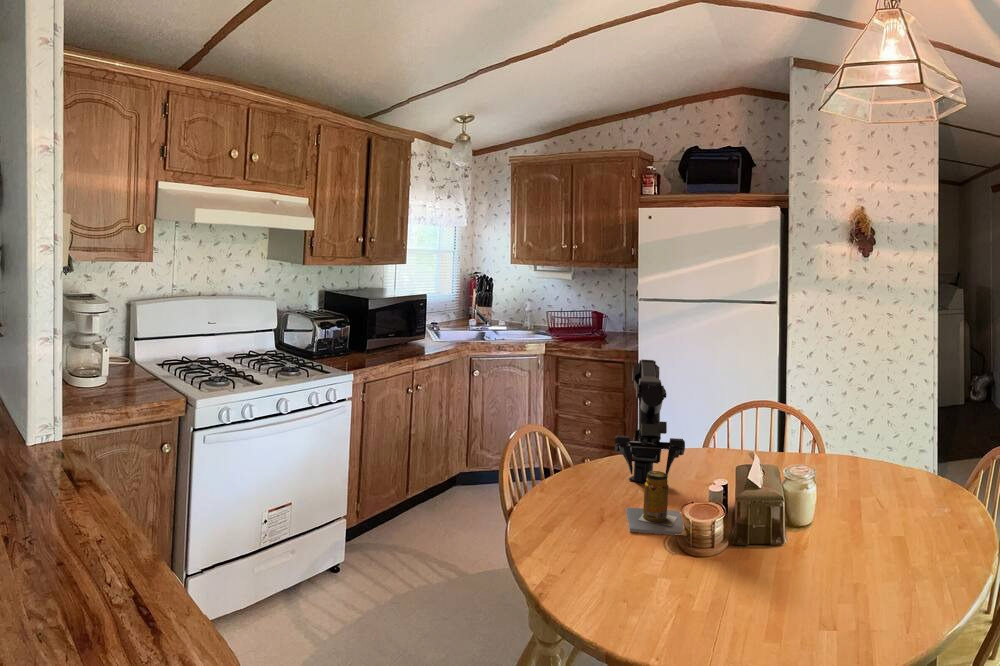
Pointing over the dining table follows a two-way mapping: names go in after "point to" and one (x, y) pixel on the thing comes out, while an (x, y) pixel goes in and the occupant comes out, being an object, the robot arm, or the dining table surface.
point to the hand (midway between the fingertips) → (649, 475)
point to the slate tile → (648, 527)
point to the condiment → (656, 499)
